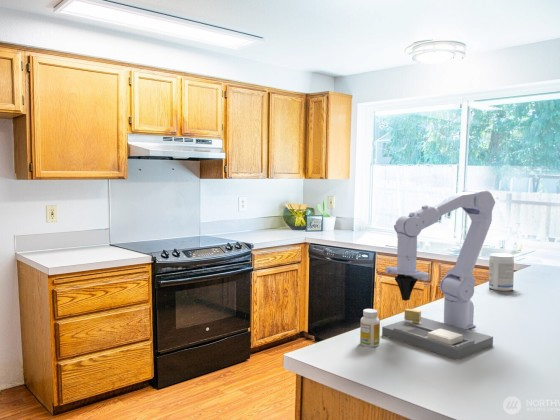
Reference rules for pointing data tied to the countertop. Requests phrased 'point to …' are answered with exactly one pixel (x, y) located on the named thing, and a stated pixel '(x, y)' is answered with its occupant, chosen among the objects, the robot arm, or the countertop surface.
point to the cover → (445, 336)
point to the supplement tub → (501, 271)
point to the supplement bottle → (370, 328)
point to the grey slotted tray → (419, 338)
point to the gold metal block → (413, 315)
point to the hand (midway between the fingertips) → (405, 299)
